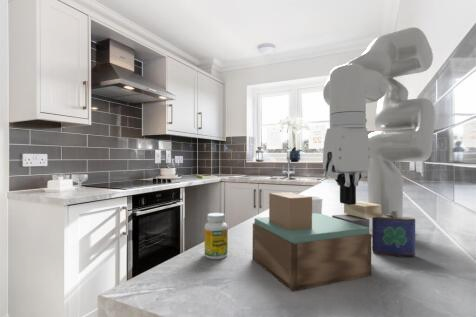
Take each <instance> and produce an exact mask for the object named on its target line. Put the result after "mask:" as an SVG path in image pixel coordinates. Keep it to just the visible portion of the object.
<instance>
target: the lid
mask: <svg viewBox="0 0 476 317" xmlns="http://www.w3.org/2000/svg"><path fill="white" fill-rule="evenodd" d="M268 195H269V198H268V199H269V201H268V202H269V203H268V204H269V206H268V215H269V216H266V217H265V216H264V217H255V218H254V224H256V225H258V226H260V227H262V228H264V229H266V230H268V231H270V232H272V233H274V234H275V235H277V236H279V237H281V238H283V239H285V240H287V241H289V242H291V243H293V244H295V243H303V242H310V241H318V240H326V239H334V238H342V237H349V236H357V235H365V234H369V228H368V227H364V226H361V225H358V224H354V223H351V222H347V221H344V220H340V219H337V218H333V217H332V216H329V215H325V214H323V213H322V214H319V213H313V214H312V197H310V196H311V195H304V194H299V193H295V192H294V193H293V192H291V191H290V192H285V191H284V192H269V193H268Z"/></svg>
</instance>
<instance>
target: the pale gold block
mask: <svg viewBox="0 0 476 317" xmlns="http://www.w3.org/2000/svg"><path fill="white" fill-rule="evenodd" d="M343 213H344V214H349V215H353V216H357V217H361V218H366V219H367V218H373V217H381V205H378V204H373V203H368V201H361V200H359V201H358V200H356V204H352V205H347V204H343Z"/></svg>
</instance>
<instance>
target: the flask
mask: <svg viewBox="0 0 476 317" xmlns="http://www.w3.org/2000/svg"><path fill="white" fill-rule="evenodd" d="M397 212H398V211H397V210H392V212H391V213H390V214H388V215H387V214H383V215H387V216H383V215H382V214H381V217H373V218H372V235H371V253H373V254H377V255H382V256H389V257H392V256H393V257H402V258H404V257H405V258H415V257H416V218H414V217H410V216H403V217H397V216H398V214H397Z"/></svg>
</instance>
